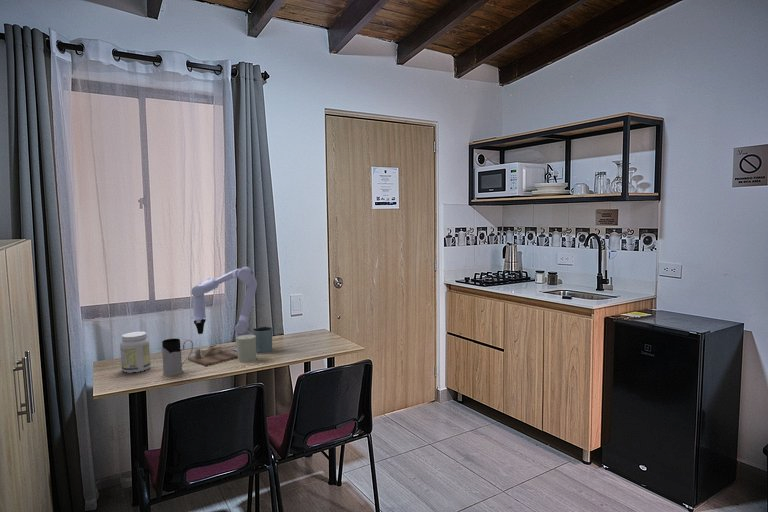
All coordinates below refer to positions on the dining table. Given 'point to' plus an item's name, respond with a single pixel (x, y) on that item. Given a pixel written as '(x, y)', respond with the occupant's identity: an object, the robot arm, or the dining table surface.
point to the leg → (210, 350)
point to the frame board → (211, 357)
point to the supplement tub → (135, 352)
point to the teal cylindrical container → (263, 339)
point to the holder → (172, 356)
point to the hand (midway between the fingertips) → (200, 333)
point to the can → (246, 348)
